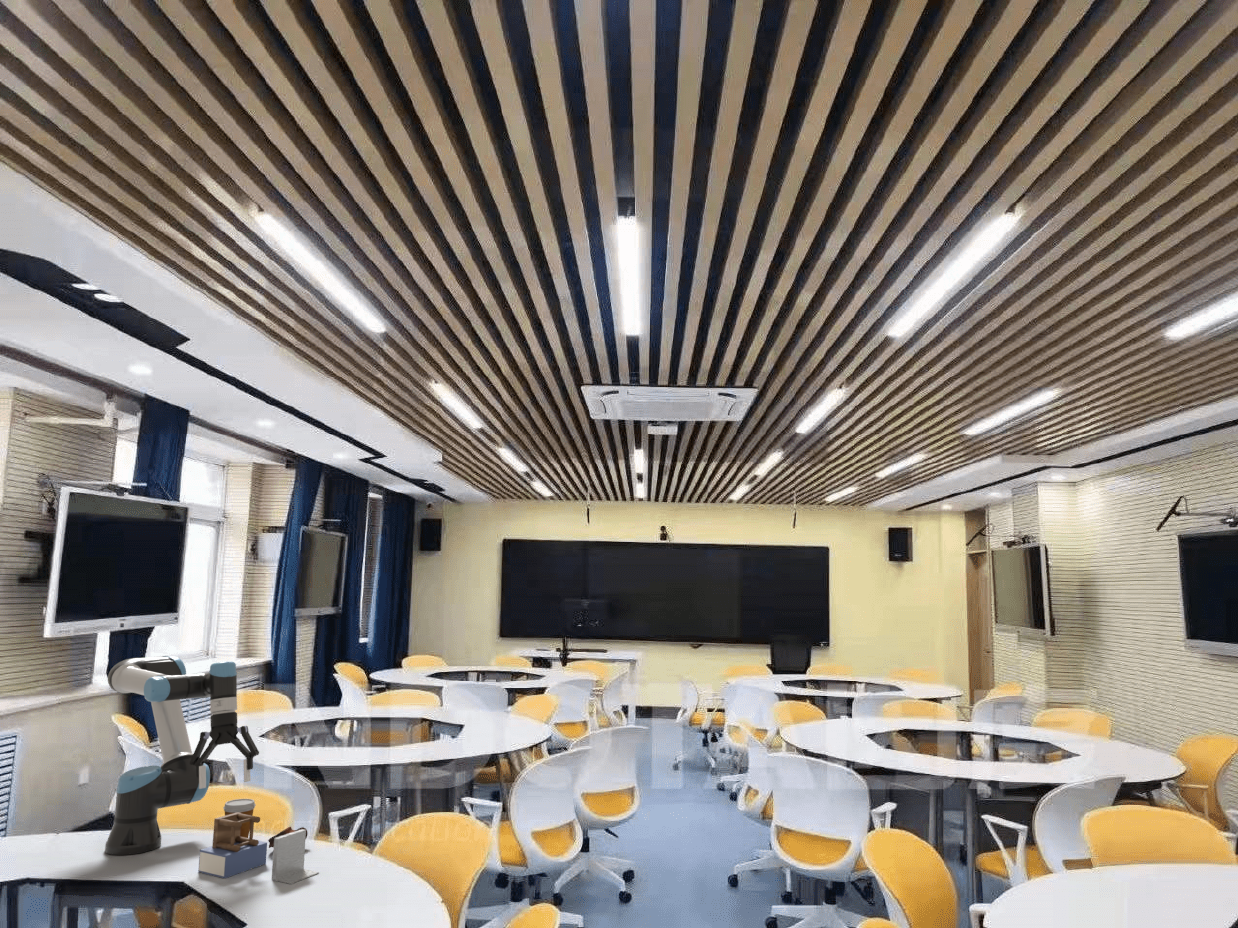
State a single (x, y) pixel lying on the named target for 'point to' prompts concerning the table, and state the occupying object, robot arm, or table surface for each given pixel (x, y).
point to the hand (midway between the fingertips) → (224, 784)
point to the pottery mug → (284, 832)
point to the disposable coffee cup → (243, 807)
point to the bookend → (290, 858)
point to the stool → (233, 831)
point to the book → (231, 859)
